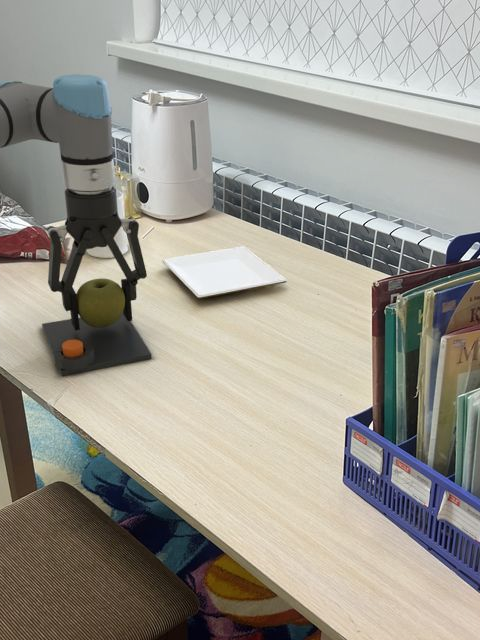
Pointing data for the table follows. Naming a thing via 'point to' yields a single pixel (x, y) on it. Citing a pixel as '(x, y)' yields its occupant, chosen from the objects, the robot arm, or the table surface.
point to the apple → (100, 302)
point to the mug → (119, 237)
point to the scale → (95, 345)
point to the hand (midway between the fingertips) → (102, 321)
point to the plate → (223, 271)
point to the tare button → (72, 348)
